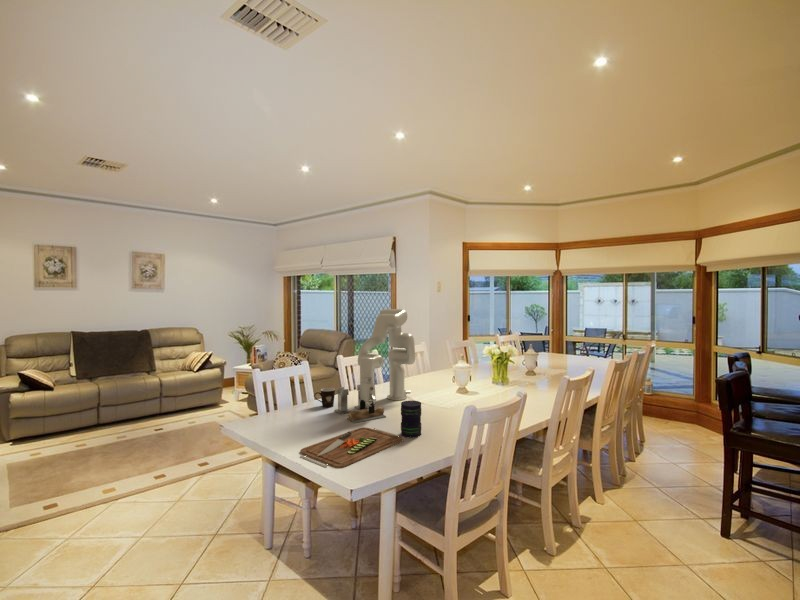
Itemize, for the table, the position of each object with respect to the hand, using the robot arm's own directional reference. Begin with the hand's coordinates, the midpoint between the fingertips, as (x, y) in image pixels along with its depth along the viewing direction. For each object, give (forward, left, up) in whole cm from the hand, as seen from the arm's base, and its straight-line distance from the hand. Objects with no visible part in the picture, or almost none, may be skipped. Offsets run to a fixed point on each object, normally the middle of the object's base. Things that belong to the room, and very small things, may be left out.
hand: (367, 411), depth 221 cm
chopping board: (+25, +32, -4) cm, 41 cm away
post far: (-7, -18, -4) cm, 19 cm away
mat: (0, 0, -4) cm, 4 cm away
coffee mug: (+9, -34, -4) cm, 35 cm away
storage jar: (-5, +34, -4) cm, 35 cm away
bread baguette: (0, 0, -3) cm, 3 cm away
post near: (+6, -18, -4) cm, 19 cm away
